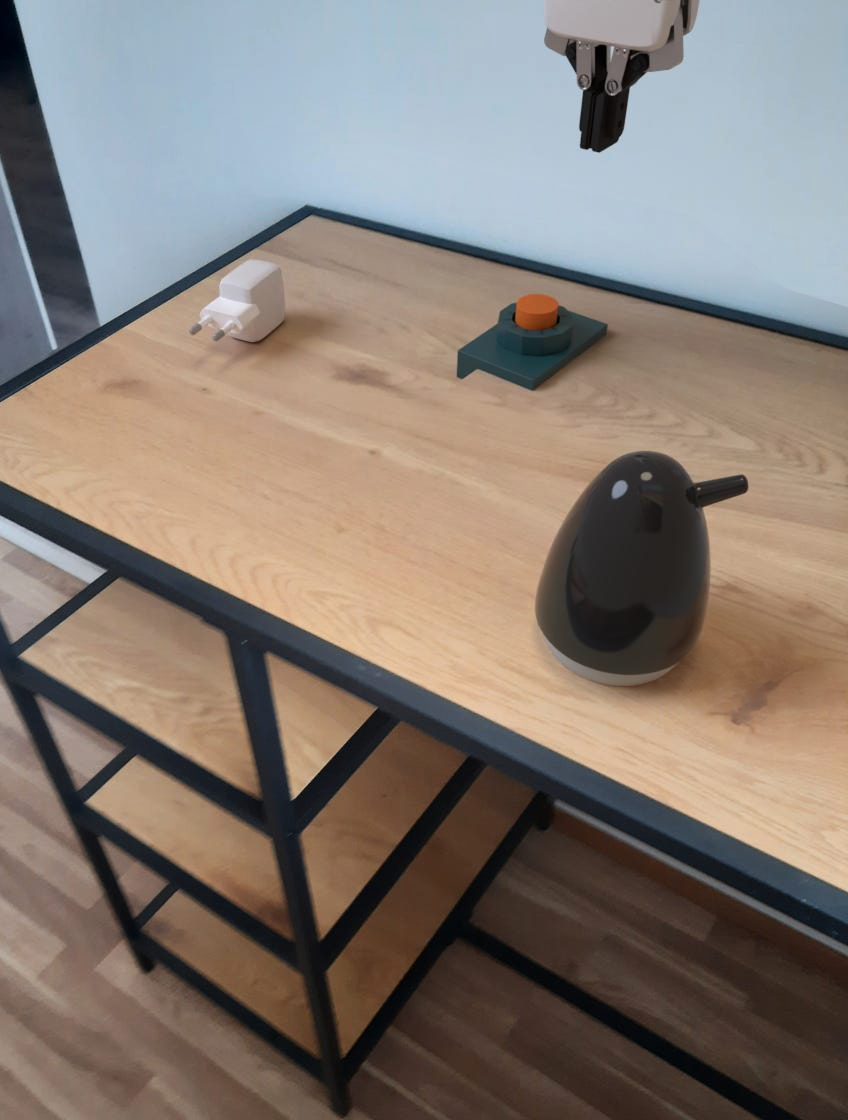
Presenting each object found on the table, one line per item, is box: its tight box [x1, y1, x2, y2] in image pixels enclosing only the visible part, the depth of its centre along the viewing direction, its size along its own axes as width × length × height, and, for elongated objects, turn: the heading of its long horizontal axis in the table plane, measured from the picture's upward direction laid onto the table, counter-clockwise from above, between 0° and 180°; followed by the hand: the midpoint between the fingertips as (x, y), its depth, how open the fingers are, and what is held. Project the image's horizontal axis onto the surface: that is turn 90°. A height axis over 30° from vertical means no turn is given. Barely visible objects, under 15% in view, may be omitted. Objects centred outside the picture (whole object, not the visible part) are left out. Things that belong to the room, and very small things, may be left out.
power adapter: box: [188, 258, 287, 343], centre depth 88 cm, size 11×5×6 cm, turn 151°
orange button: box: [515, 293, 560, 331], centre depth 82 cm, size 4×4×2 cm
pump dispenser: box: [534, 450, 750, 687], centre depth 55 cm, size 10×10×15 cm
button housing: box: [456, 302, 609, 392], centre depth 84 cm, size 12×8×4 cm, turn 139°
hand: (599, 144), depth 72 cm, fingers closed
